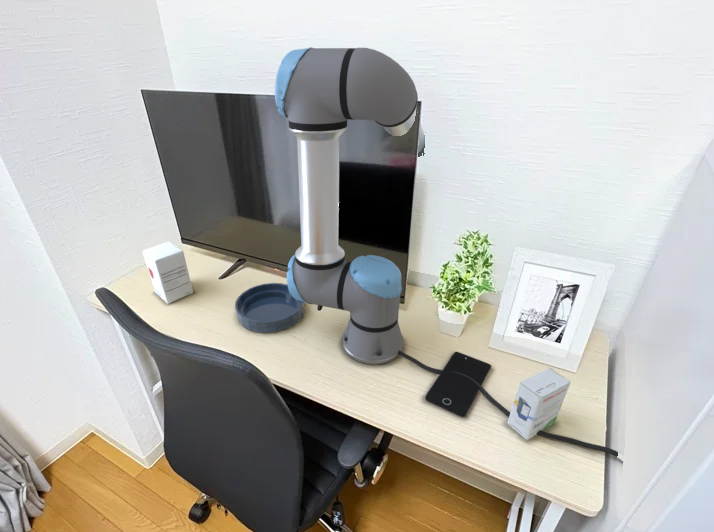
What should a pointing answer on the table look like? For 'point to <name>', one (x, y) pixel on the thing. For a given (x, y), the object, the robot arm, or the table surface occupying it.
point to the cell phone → (458, 383)
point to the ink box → (538, 402)
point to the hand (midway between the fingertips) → (331, 256)
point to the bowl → (268, 308)
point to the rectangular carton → (168, 271)
